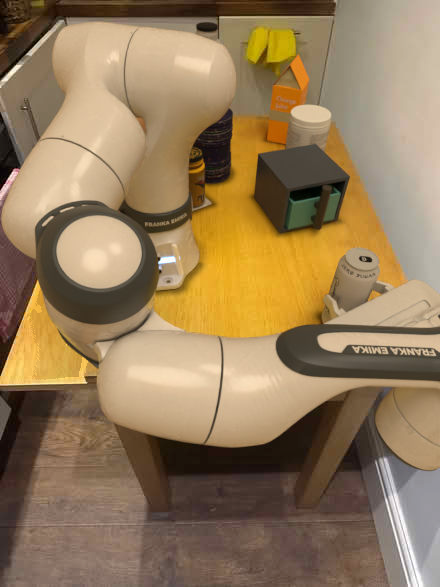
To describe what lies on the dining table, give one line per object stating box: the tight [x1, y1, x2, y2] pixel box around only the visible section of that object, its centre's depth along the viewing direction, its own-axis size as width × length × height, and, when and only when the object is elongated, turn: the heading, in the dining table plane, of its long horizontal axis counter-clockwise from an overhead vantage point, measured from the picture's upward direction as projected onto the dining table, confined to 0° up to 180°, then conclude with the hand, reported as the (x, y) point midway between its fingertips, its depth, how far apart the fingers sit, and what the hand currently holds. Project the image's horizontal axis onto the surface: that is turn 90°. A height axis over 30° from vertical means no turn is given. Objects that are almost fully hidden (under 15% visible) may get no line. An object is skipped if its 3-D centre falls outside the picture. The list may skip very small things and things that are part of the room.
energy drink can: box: [321, 246, 381, 324], centre depth 64 cm, size 6×6×15 cm
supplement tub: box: [284, 104, 332, 153], centre depth 98 cm, size 10×10×15 cm
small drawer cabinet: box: [253, 144, 351, 234], centre depth 88 cm, size 14×14×11 cm
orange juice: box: [266, 53, 310, 145], centre depth 108 cm, size 8×9×20 cm
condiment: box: [189, 147, 213, 211], centre depth 88 cm, size 7×8×12 cm
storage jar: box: [192, 107, 234, 185], centre depth 96 cm, size 10×10×15 cm
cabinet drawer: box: [285, 183, 341, 231], centre depth 86 cm, size 16×11×10 cm
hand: (346, 287), depth 65 cm, fingers open, 6 cm apart
